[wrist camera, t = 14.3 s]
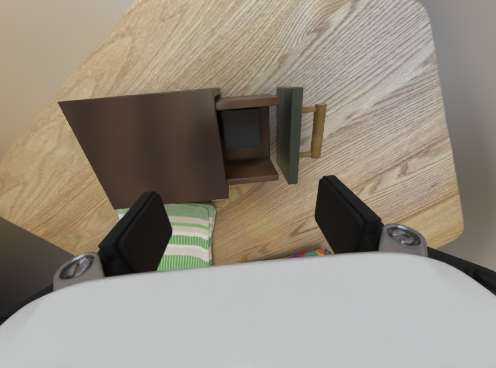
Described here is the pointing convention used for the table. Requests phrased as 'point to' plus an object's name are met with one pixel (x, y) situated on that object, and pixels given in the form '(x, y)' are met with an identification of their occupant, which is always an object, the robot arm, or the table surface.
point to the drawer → (288, 137)
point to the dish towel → (187, 235)
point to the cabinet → (152, 145)
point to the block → (241, 127)
